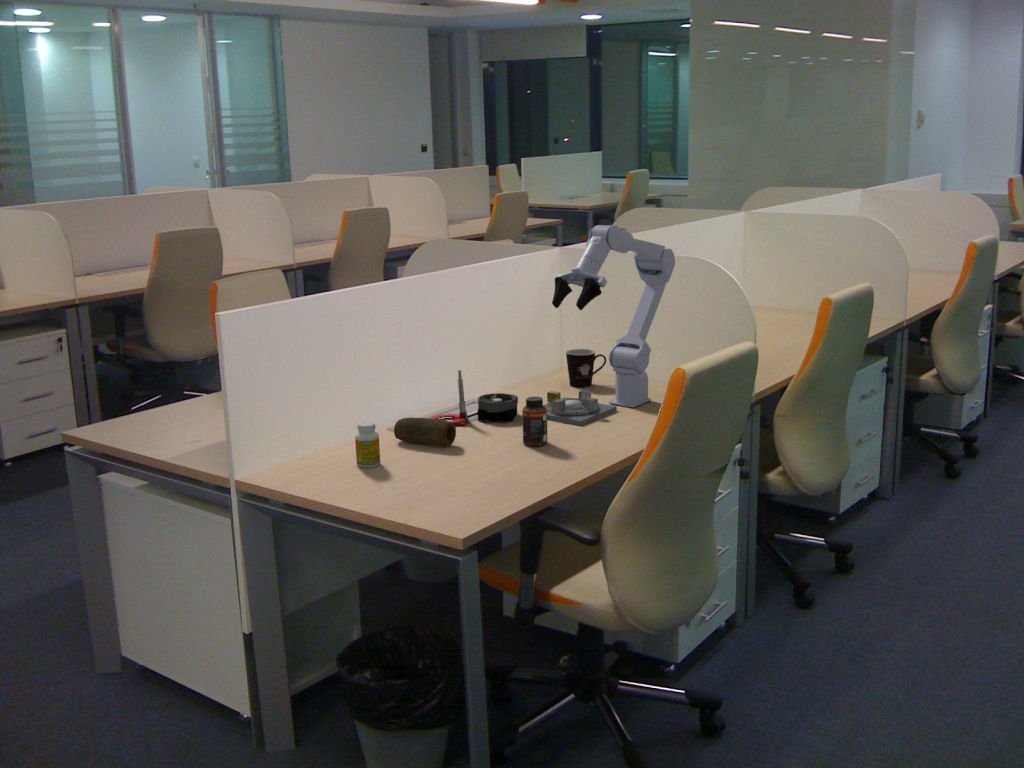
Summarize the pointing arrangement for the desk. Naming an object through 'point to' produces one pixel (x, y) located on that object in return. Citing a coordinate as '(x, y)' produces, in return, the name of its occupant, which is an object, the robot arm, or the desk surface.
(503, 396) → the cpu cooler
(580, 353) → the coffee mug
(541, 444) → the supplement bottle
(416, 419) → the brown hollow cylinder
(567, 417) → the cap plate
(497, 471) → the desk surface
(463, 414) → the tow hook
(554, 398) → the ring nut
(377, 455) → the supplement bottle
